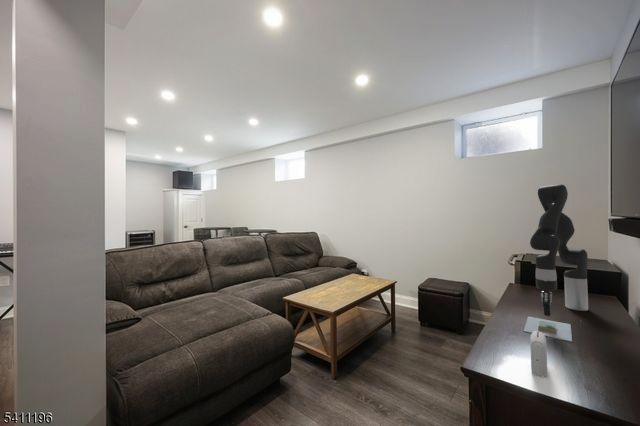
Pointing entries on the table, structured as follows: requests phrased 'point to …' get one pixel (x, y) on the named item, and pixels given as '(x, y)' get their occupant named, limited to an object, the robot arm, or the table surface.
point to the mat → (561, 332)
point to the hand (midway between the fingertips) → (547, 315)
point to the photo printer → (538, 353)
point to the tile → (547, 327)
